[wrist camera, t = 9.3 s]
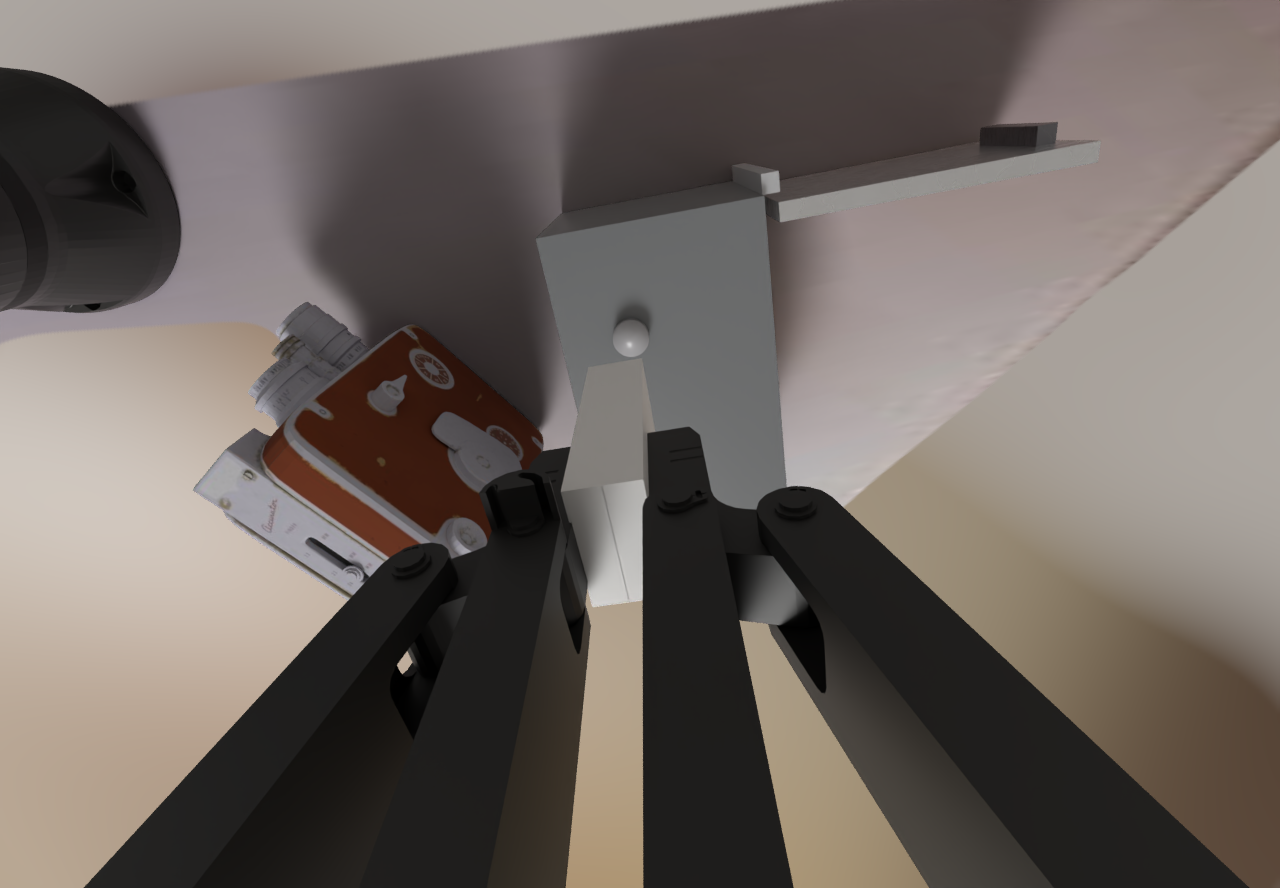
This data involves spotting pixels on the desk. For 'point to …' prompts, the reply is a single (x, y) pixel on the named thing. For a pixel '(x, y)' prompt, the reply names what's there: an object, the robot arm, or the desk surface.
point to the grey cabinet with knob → (681, 317)
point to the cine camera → (367, 451)
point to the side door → (932, 171)
